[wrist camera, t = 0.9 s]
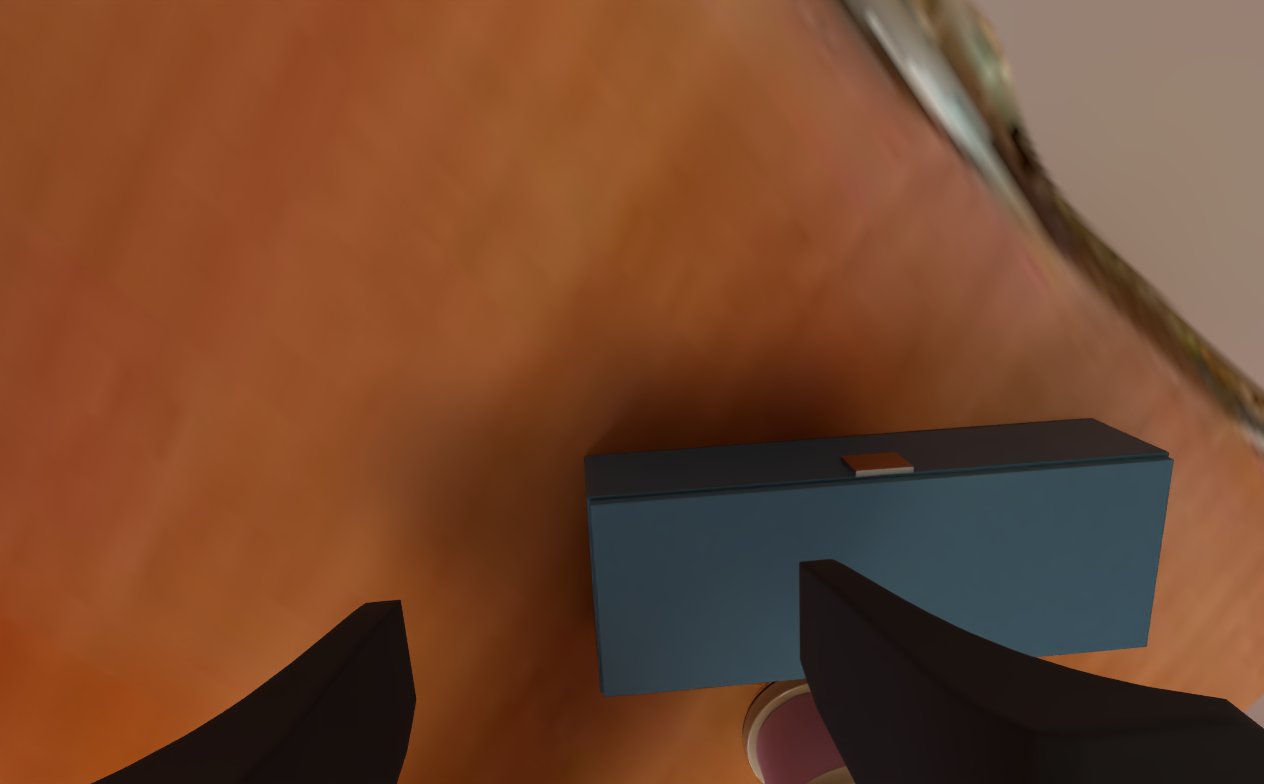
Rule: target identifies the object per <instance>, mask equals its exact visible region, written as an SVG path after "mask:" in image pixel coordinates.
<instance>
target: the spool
mask: <svg viewBox="0 0 1264 784" xmlns="http://www.w3.org/2000/svg"><path fill="white" fill-rule="evenodd" d="M743 744H744V748H745V751H746V755H747V758H748V761H749V764H750V766H751V768H752V770H753V772H754V773H755V775H756V776H757V777H758V778H759V780H760V781H761V782H762V783H764V784H855V782H854V780H853V778H852V776H851V774H850V772H849V771H848V769H847V767H846V765H845V763H844V761H843V759H842V757H841V755H840V753H839V751H838V749H837V747H836V745H835V744H834V742H833V740H832V738H831V736H830V734H829V732H828V730H827V728H826V726H825V724H824V722H823V720H822V718H821V716H820V714H819V712H818V710H817V708H816V705H815V702H814V699H813V697H812V694H811V691H810V689H809V686H808V683H807V680H806V679H796V680H785V681H777V682H775V683H774V684H772V685H771V686H769V687H768V688H767V689H766V690H764V691H763V692H762V693H761V694H760V695H759V696H758V698H757V699H756V700H755V701H754V703H753V704H752V706H751V708H750V710H749V711H748V714H747V716H746V719H745V723H744V727H743Z"/></svg>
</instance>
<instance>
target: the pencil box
mask: <svg viewBox="0 0 1264 784" xmlns="http://www.w3.org/2000/svg"><path fill="white" fill-rule="evenodd" d="M1168 456H1169V452H1167V451H1165V450H1163V449H1160V448H1158V447H1156V446H1154V445H1151V444H1149V443H1147V442H1144V441H1142V440H1140V439H1138V438H1135V437H1133V436H1131V435H1129V434H1126V433H1124V432H1122V431H1120V430H1117V429H1115V428H1113V427H1111V426H1108V425H1106V424H1104V423H1102V422H1099V421H1097V420H1095V419H1079V420H1066V421H1052V422H1039V423H1025V424H1012V425H998V426H985V427H971V428H958V429H944V430H931V431H917V432H904V433H890V434H877V435H863V436H850V437H836V438H823V439H810V440H796V441H783V442H769V443H756V444H742V445H729V446H715V447H702V448H688V449H675V450H661V451H648V452H634V453H621V454H607V455H594V456H585V457H584V462H585V485H586V504H587V517H588V531H589V545H590V559H591V573H592V587H593V601H594V615H595V628H596V642H597V656H598V670H599V684H600V692H601V693H604V697H614V696H625V695H635V694H646V693H657V692H668V691H678V690H689V689H700V688H710V687H721V686H732V685H743V684H753V683H764V682H775V681H785V680H796V679H806V677H805V674H804V671H803V668H802V665H801V662H800V618H799V562H802V561H813V560H823V559H834V560H836V561H838V562H840V563H842V564H844V565H846V566H848V567H849V568H851V569H853V570H855V571H856V572H858V573H860V574H861V575H863V576H865V577H867V578H868V579H870V580H872V581H873V582H875V583H877V584H878V585H880V586H882V587H884V588H885V589H887V590H889V591H891V592H892V593H894V594H896V595H898V596H899V597H901V598H903V599H905V600H906V601H908V602H910V603H912V604H914V605H916V606H917V607H919V608H921V609H923V610H925V611H927V612H929V613H931V614H933V615H935V616H937V617H939V618H941V619H943V620H945V621H947V622H949V623H951V624H953V625H955V626H957V627H959V628H961V629H964V630H966V631H968V632H970V633H973V634H975V635H977V636H980V637H982V638H985V639H987V640H990V641H992V642H995V643H997V644H1000V645H1002V646H1005V647H1007V648H1010V649H1013V650H1015V651H1018V652H1021V653H1024V654H1027V655H1030V656H1033V657H1042V656H1053V655H1064V654H1075V653H1085V652H1096V651H1107V650H1117V649H1128V648H1139V647H1146V646H1147V640H1148V633H1149V627H1150V620H1151V613H1152V606H1153V599H1154V592H1155V585H1156V578H1157V572H1158V565H1159V558H1160V551H1161V544H1162V537H1163V530H1164V523H1165V517H1166V510H1167V503H1168V496H1169V489H1170V482H1171V475H1172V468H1173V461H1174V460H1173V459H1171V458H1169V457H1168Z"/></svg>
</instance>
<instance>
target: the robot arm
mask: <svg viewBox="0 0 1264 784" xmlns="http://www.w3.org/2000/svg"><path fill="white" fill-rule="evenodd" d="M799 618H800V662H801V665H802V668H803V671H804V674H805V677H806V680H807V683H808V686H809V689H810V691H811V694H812V697H813V699H814V702H815V705H816V708H817V710H818V712H819V714H820V716H821V718H822V720H823V722H824V724H825V726H826V728H827V730H828V732H829V734H830V736H831V738H832V740H833V742H834V744H835V745H836V747H837V749H838V751H839V753H840V755H841V757H842V759H843V761H844V763H845V765H846V767H847V769H848V771H849V772H850V774H851V776H852V778H853V780H854V782H855V784H1264V729H1263V728H1262V727H1261V726H1260V725H1258V724H1257V723H1256V722H1255V721H1253V720H1252V719H1251V718H1249V717H1248V716H1247V715H1246V714H1244V713H1243V712H1242V711H1240V710H1239V709H1238V708H1237V707H1235V706H1234V705H1233V704H1232V703H1230V702H1229V701H1228V700H1226V699H1222V698H1215V697H1209V696H1203V695H1196V694H1190V693H1184V692H1177V691H1171V690H1165V689H1158V688H1152V687H1147V686H1142V685H1137V684H1133V683H1129V682H1124V681H1120V680H1115V679H1111V678H1106V677H1102V676H1098V675H1094V674H1090V673H1086V672H1083V671H1079V670H1075V669H1071V668H1068V667H1065V666H1062V665H1058V664H1055V663H1052V662H1049V661H1045V660H1042V659H1039V658H1036V657H1033V656H1030V655H1027V654H1024V653H1021V652H1018V651H1015V650H1013V649H1010V648H1007V647H1005V646H1002V645H1000V644H997V643H995V642H992V641H990V640H987V639H985V638H982V637H980V636H977V635H975V634H973V633H970V632H968V631H966V630H964V629H961V628H959V627H957V626H955V625H953V624H951V623H949V622H947V621H945V620H943V619H941V618H939V617H937V616H935V615H933V614H931V613H929V612H927V611H925V610H923V609H921V608H919V607H917V606H916V605H914V604H912V603H910V602H908V601H906V600H905V599H903V598H901V597H899V596H898V595H896V594H894V593H892V592H891V591H889V590H887V589H885V588H884V587H882V586H880V585H878V584H877V583H875V582H873V581H872V580H870V579H868V578H867V577H865V576H863V575H861V574H860V573H858V572H856V571H855V570H853V569H851V568H849V567H848V566H846V565H844V564H842V563H840V562H838V561H836V560H834V559H823V560H813V561H802V562H799ZM415 704H416V694H415V687H414V681H413V675H412V668H411V662H410V656H409V649H408V643H407V637H406V631H405V624H404V618H403V612H402V605H401V600H392V601H381V602H371V603H365V604H364V605H362V606H361V607H359V608H358V609H357V610H355V611H354V612H353V613H352V614H350V615H349V616H348V617H347V618H345V619H344V620H343V621H342V622H340V623H339V624H338V625H337V626H336V627H334V628H333V629H332V630H331V631H330V632H328V633H327V634H326V635H325V636H324V637H322V638H321V639H320V640H319V641H318V642H316V643H315V644H314V645H313V646H311V647H310V648H309V649H308V650H307V651H305V652H304V653H303V654H302V655H301V656H299V657H298V658H297V659H296V660H294V661H293V662H292V663H291V664H289V665H288V666H287V667H285V668H284V669H283V670H281V671H280V672H279V673H277V674H276V675H275V676H273V677H272V678H271V679H269V680H268V681H267V682H265V683H264V684H263V685H261V686H260V687H259V688H257V689H256V690H255V691H253V692H252V693H251V694H249V695H248V696H246V697H245V698H244V699H242V700H241V701H239V702H238V703H236V704H235V705H233V706H232V707H230V708H229V709H227V710H226V711H224V712H223V713H221V714H220V715H218V716H216V717H215V718H213V719H212V720H210V721H208V722H207V723H205V724H204V725H202V726H200V727H199V728H197V729H195V730H194V731H192V732H190V733H189V734H187V735H185V736H184V737H182V738H180V739H178V740H176V741H174V742H172V743H171V744H169V745H167V746H165V747H163V748H161V749H159V750H158V751H156V752H154V753H152V754H150V755H148V756H146V757H144V758H143V759H141V760H139V761H137V762H135V763H133V764H131V765H129V766H128V767H125V768H123V769H121V770H119V771H117V772H115V773H113V774H111V775H109V776H107V777H104V778H102V779H100V780H98V781H96V782H94V783H92V784H397V781H398V778H399V775H400V772H401V769H402V766H403V763H404V759H405V756H406V753H407V748H408V743H409V738H410V733H411V728H412V722H413V716H414V710H415Z"/></svg>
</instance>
